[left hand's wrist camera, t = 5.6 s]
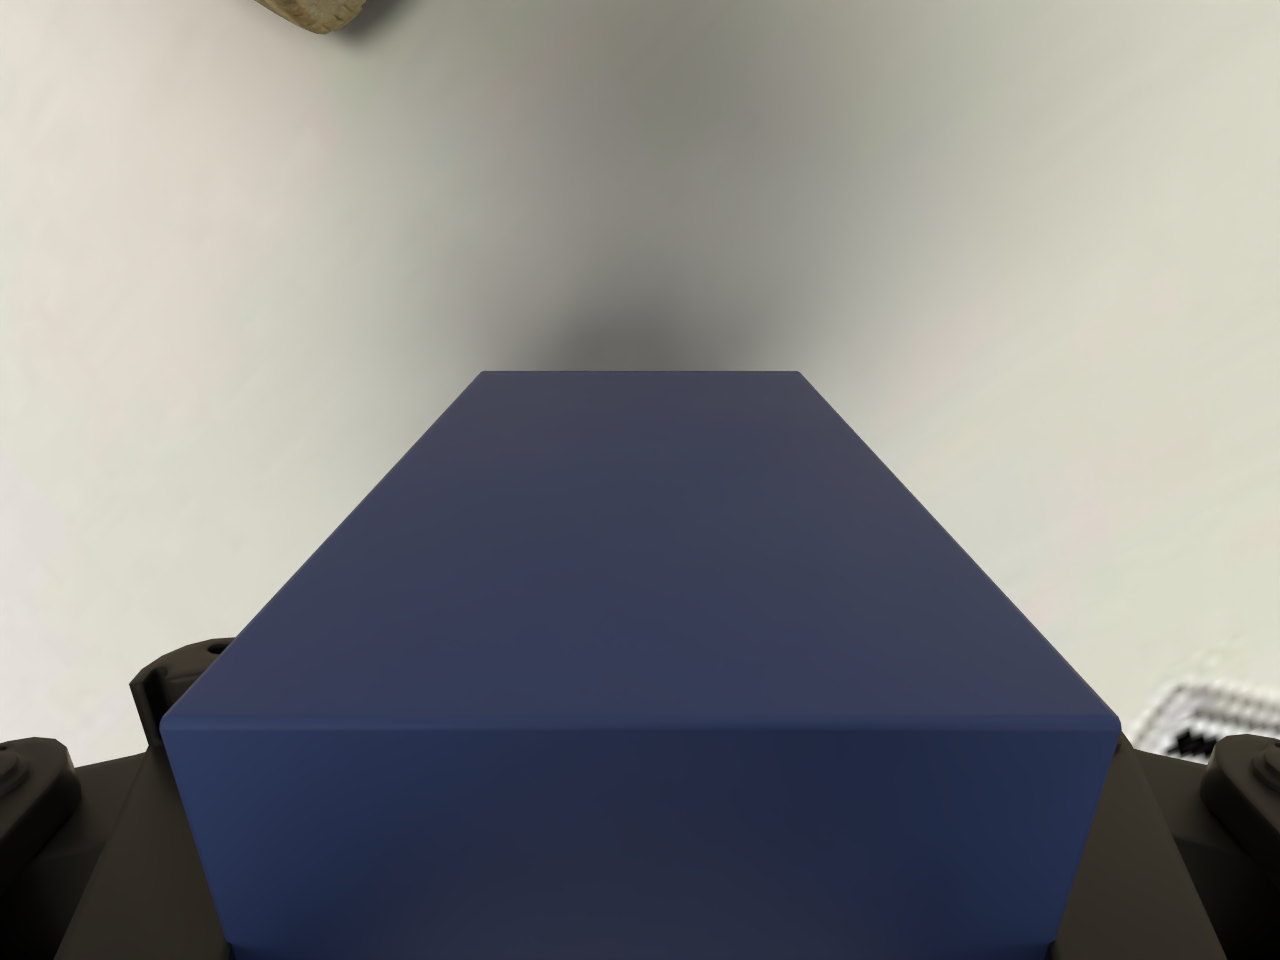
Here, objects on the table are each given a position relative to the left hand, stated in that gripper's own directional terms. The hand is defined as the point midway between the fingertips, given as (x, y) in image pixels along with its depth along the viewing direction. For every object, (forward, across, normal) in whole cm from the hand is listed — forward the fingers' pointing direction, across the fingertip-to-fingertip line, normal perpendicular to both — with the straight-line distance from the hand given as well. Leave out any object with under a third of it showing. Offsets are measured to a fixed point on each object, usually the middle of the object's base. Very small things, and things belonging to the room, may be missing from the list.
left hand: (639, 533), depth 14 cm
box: (+1, 0, -11) cm, 11 cm away
